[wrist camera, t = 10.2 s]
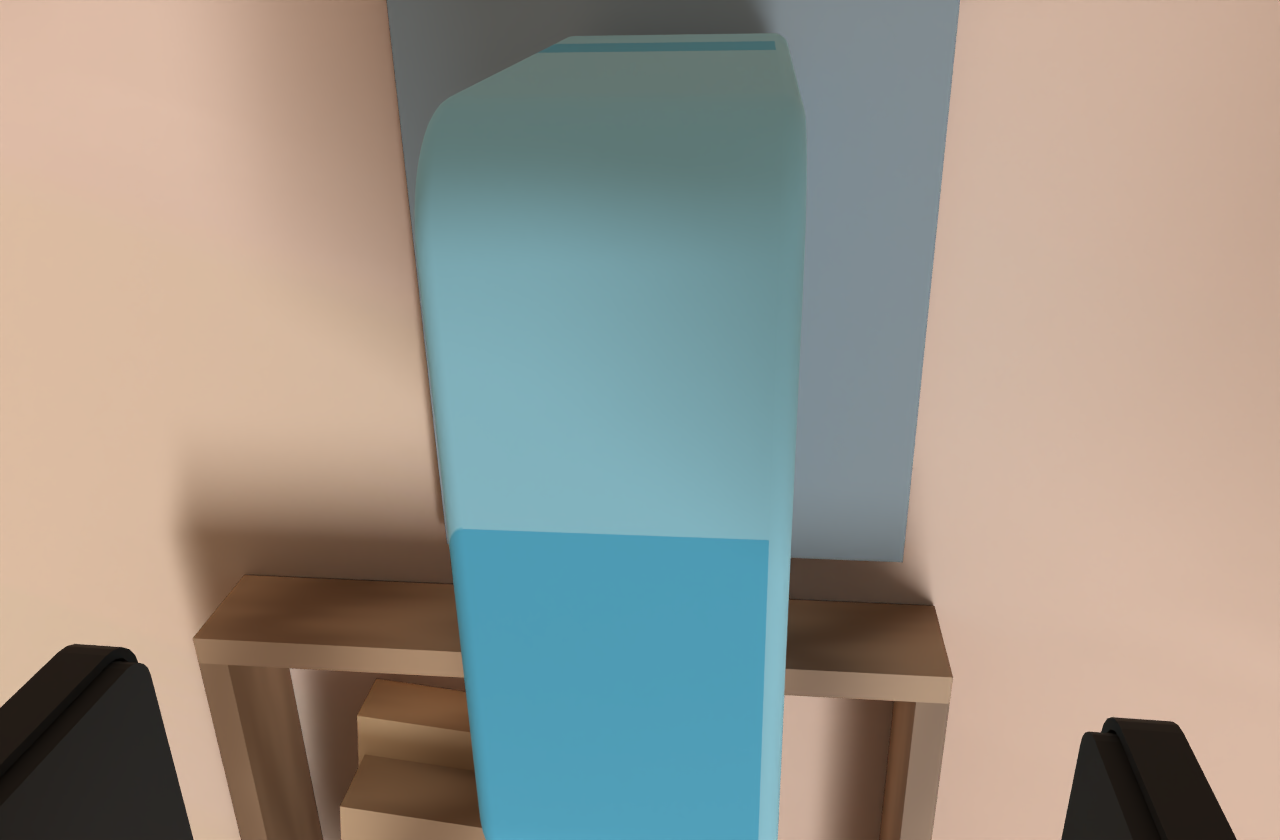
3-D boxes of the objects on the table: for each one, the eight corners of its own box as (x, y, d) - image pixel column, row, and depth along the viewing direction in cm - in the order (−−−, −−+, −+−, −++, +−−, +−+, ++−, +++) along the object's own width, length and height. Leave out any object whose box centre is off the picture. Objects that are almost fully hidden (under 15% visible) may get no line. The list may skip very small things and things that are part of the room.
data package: (572, 29, 22) (392, 115, 11) (786, 26, 22) (812, 113, 11) (594, 519, 27) (483, 903, 16) (769, 525, 27) (774, 925, 16)
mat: (958, -33, 21) (963, -32, 21) (899, 549, 27) (902, 562, 27) (393, -24, 23) (384, -23, 22) (453, 532, 29) (446, 543, 28)
